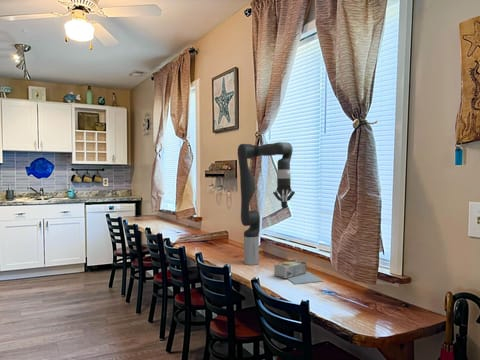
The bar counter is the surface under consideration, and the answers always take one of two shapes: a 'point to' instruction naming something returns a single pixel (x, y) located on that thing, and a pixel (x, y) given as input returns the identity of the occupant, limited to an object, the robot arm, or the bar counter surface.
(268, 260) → the bar counter surface
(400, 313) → the bar counter surface
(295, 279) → the mat
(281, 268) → the coffee box
